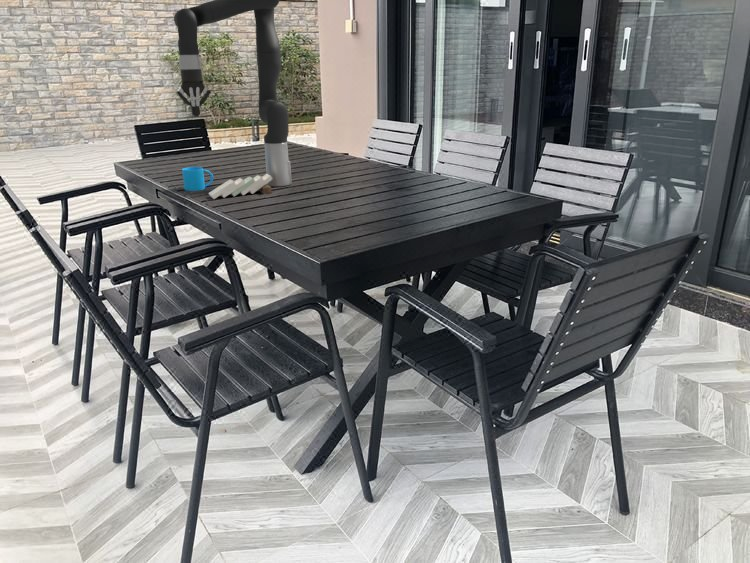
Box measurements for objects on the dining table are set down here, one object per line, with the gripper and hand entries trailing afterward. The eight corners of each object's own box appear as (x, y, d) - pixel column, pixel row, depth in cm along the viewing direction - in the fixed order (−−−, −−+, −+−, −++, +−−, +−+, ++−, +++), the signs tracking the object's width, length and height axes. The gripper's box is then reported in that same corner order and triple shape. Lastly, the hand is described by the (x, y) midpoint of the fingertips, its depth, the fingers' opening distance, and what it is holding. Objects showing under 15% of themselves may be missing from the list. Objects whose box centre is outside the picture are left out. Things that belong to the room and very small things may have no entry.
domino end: (248, 191, 241) (268, 176, 243) (252, 194, 237) (272, 179, 239) (246, 188, 240) (266, 173, 242) (249, 190, 236) (270, 175, 238)
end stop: (264, 189, 246) (263, 183, 245) (271, 193, 238) (271, 186, 237) (256, 190, 244) (256, 183, 243) (264, 194, 237) (263, 187, 236)
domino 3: (230, 194, 238) (251, 179, 240) (234, 196, 234) (255, 181, 236) (228, 190, 237) (249, 176, 239) (231, 193, 233) (253, 178, 235)
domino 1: (210, 196, 234) (232, 182, 237) (213, 199, 230) (236, 184, 233) (208, 193, 234) (230, 179, 236) (211, 195, 229) (233, 181, 232)
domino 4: (239, 193, 239) (259, 178, 241) (243, 195, 235) (264, 180, 237) (237, 189, 238) (257, 174, 241) (240, 192, 234) (261, 177, 236)
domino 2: (220, 195, 236) (241, 181, 238) (223, 197, 232) (245, 183, 234) (218, 192, 235) (239, 177, 238) (221, 194, 231) (243, 179, 233)
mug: (186, 191, 244) (183, 171, 241) (182, 188, 251) (180, 168, 248) (216, 188, 249) (214, 168, 246) (212, 184, 256) (209, 165, 253)
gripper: (174, 68, 220) (180, 118, 226) (211, 67, 226) (216, 116, 232) (170, 68, 226) (176, 116, 232) (206, 67, 232) (211, 114, 238)
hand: (196, 116), depth 232 cm, fingers closed
